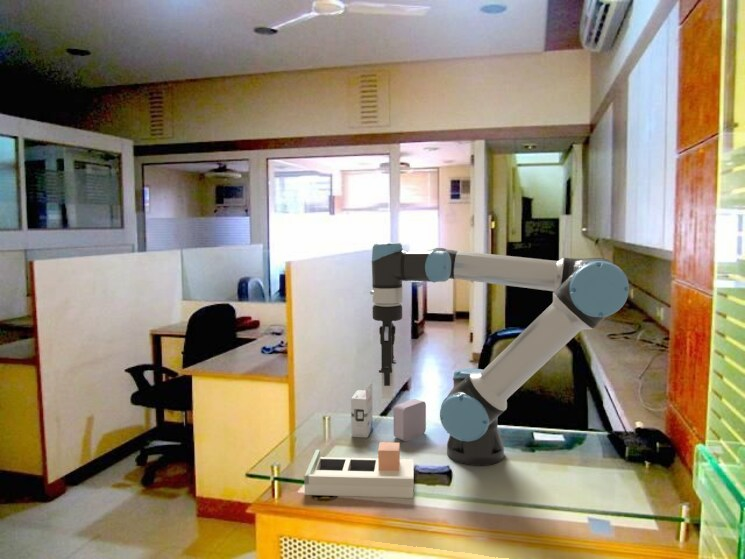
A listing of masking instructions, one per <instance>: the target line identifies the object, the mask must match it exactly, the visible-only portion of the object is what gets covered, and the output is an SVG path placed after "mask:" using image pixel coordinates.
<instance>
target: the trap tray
mask: <svg viewBox="0 0 745 559" xmlns="http://www.w3.org/2000/svg"><path fill="white" fill-rule="evenodd" d="M414 464H415V462H414V458H400V465H399V471H388V470H378V457H376V458H374V457H369V458H368V457H340V456H339V457H336V456H335V457H331V456H330V457H329V456H321V449H315V451H314V454H313V456H312V458H311V460H310V463H309V465H308V467H307V470H306V471H305V473H304V476H303V479H304V496H334V497H336V496H337V497H364V498H365V497H369V498H398V499H399V498H401V499H402V498H403V499H405V498H406V499H414V492H413V489H414V480H415V479H414V477H415V476H414V473H415V471H414V470H415V469H414V467H415V465H414Z"/></svg>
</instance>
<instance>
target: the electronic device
mask: <svg viewBox="0 0 745 559" xmlns="http://www.w3.org/2000/svg"><path fill="white" fill-rule="evenodd" d="M426 411H427V404H426V402H425V401H423V400H419V399H416V398H413V399H410V400H407V401H403V402H402V403H399V404H396V405H394V407H393V437H395V439H398V440H401V441H403V442H408V441H412V440H413V439H415V438H418V437H420V436H422V435H424V434H425V432H426V429H427V423H426V422H427V412H426Z"/></svg>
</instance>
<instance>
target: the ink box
mask: <svg viewBox="0 0 745 559" xmlns="http://www.w3.org/2000/svg"><path fill="white" fill-rule="evenodd" d="M350 414H351V416H350V422H351V425H350V426H351V432H350V433H351V437H352V438H368V437H369V435H370V433H371V431H372V430H373V427H372V426H373V419H374V418H373V381H370V383H369V384H368V385H367V387H366V389H365V390H364V389H362V390H361V389H356V390H355V393H354V394H353V395H352V397H351V398H350Z"/></svg>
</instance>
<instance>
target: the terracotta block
mask: <svg viewBox="0 0 745 559" xmlns="http://www.w3.org/2000/svg"><path fill="white" fill-rule="evenodd" d="M400 445H401V444H400V442H388V441H387V442H383V441H382V442H381V441H380V442H379V445H378V449H377V450H378V453H377V454H378V456H377V458H378V470H388V471H399V465H400V459H401V458H400V457H401V455H400V454H401V453H400V452H401V451H400V450H401V449H400V447H401V446H400Z"/></svg>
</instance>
